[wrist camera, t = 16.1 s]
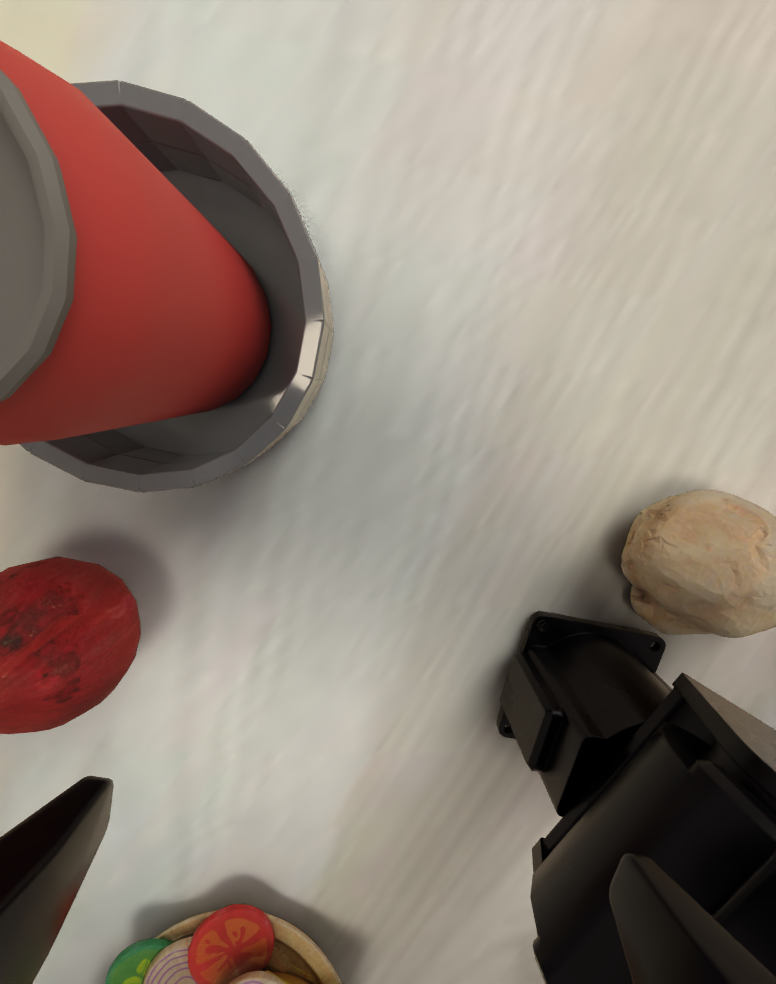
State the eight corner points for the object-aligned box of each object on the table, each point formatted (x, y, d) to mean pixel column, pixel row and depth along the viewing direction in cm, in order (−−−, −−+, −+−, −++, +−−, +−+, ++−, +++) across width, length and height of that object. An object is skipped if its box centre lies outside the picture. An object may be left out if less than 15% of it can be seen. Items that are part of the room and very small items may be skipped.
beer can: (200, 188, 17) (-182, -261, 5) (309, 351, 18) (206, 295, 6) (56, 295, 17) (-586, 116, 6) (172, 444, 19) (-148, 550, 7)
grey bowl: (359, 205, 18) (357, 146, 13) (303, 491, 20) (286, 522, 16) (46, 120, 16) (-71, 25, 12) (26, 433, 19) (-77, 449, 14)
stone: (696, 460, 23) (636, 476, 18) (861, 521, 19) (849, 564, 14) (637, 575, 26) (569, 619, 20) (772, 649, 22) (732, 728, 16)
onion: (76, 505, 20) (-114, 586, 12) (197, 580, 21) (94, 701, 13) (9, 609, 20) (-208, 748, 13) (128, 676, 21) (-7, 844, 14)
